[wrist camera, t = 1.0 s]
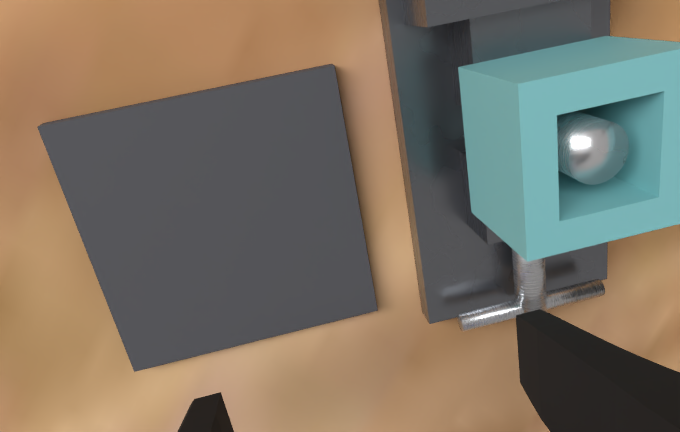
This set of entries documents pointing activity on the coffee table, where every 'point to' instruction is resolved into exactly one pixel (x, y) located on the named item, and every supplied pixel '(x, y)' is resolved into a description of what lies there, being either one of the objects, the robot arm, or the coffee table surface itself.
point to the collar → (542, 146)
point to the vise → (451, 164)
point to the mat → (218, 213)
